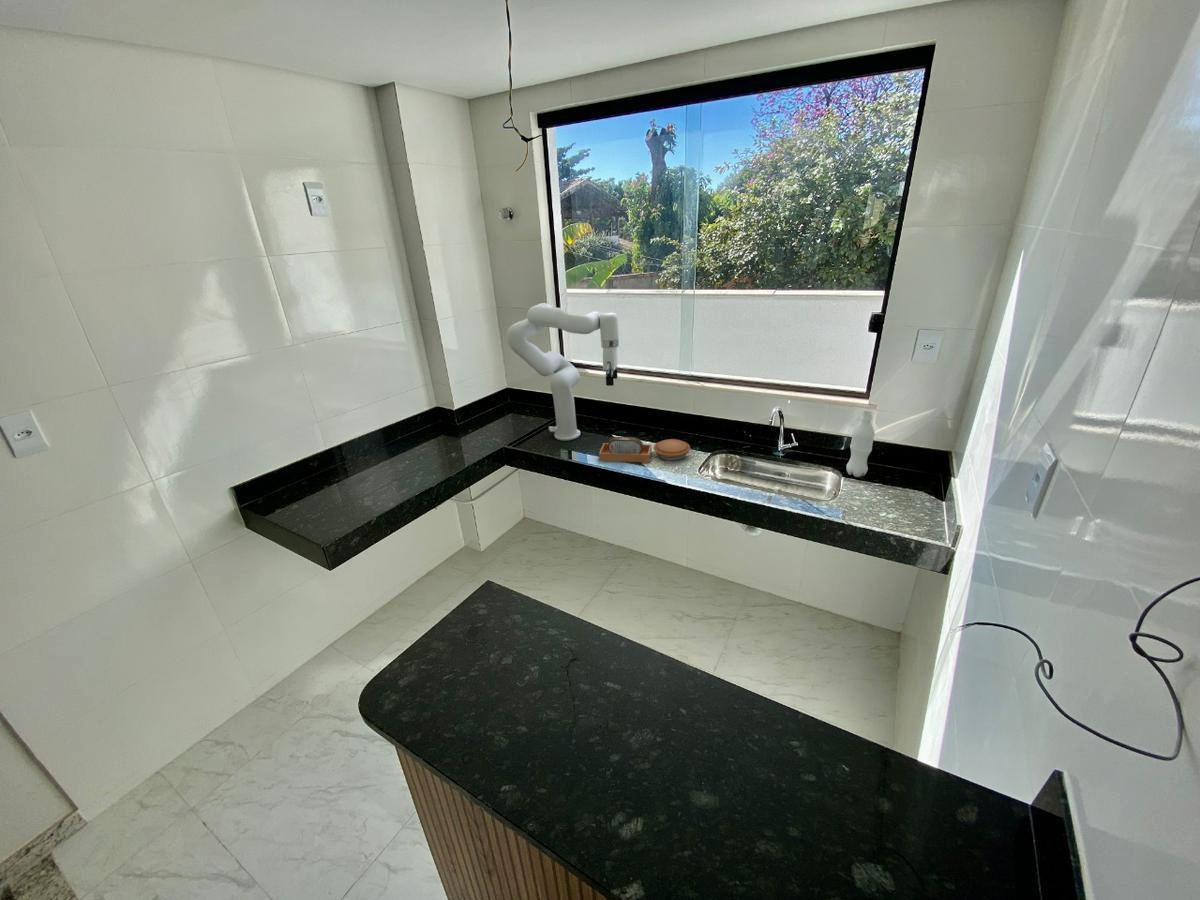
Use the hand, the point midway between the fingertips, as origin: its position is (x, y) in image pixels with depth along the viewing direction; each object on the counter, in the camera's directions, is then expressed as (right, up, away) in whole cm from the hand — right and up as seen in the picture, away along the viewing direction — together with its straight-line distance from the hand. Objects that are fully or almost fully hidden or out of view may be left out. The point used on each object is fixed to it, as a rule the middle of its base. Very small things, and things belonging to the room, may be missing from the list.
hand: (611, 381), depth 212 cm
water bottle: (+92, -39, -29) cm, 104 cm away
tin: (+6, -32, -4) cm, 33 cm away
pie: (+26, -32, -5) cm, 41 cm away
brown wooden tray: (+6, -33, -3) cm, 33 cm away
